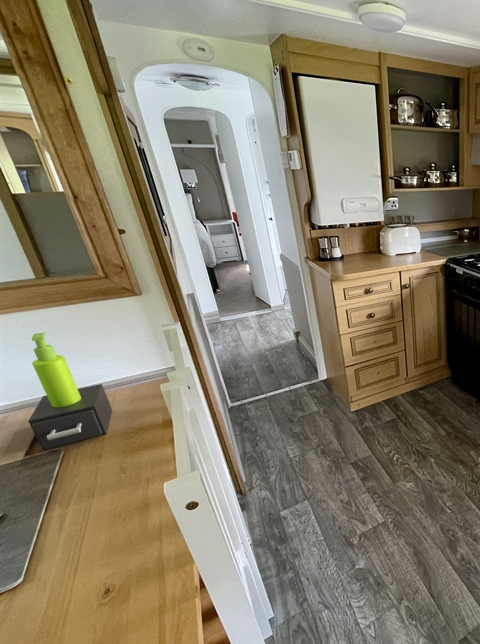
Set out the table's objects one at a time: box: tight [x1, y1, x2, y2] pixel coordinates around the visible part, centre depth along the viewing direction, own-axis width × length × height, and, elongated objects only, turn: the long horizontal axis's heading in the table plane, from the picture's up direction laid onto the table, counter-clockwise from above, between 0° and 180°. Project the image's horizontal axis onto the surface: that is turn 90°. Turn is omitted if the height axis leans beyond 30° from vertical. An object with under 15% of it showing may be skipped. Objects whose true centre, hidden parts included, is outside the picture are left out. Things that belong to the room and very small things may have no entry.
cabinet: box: [28, 383, 113, 452], centre depth 107 cm, size 15×13×10 cm
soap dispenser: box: [31, 331, 81, 407], centre depth 102 cm, size 6×7×20 cm
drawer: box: [31, 409, 103, 451], centre depth 104 cm, size 18×11×8 cm, turn 36°
